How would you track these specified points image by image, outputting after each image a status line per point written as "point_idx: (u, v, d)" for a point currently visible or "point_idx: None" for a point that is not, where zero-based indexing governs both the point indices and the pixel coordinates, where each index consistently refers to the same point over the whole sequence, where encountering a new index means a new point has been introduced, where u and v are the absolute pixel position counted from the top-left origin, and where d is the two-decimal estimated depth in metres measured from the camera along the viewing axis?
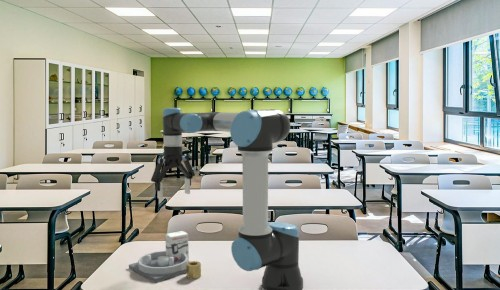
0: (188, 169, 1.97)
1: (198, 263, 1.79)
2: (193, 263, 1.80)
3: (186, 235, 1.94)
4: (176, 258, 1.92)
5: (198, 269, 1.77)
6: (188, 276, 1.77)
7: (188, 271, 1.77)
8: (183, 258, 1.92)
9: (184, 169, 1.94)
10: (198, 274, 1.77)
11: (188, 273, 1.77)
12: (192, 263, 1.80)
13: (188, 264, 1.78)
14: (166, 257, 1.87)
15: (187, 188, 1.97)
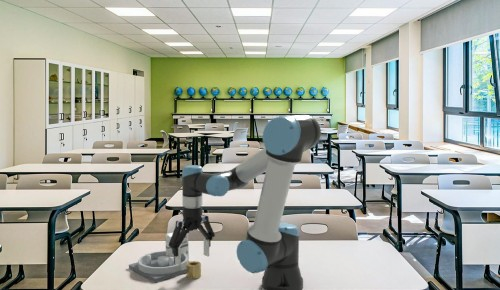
0: (208, 229, 1.83)
1: (198, 263, 1.79)
2: (193, 263, 1.80)
3: (186, 235, 1.94)
4: None
5: (198, 269, 1.77)
6: (188, 276, 1.77)
7: (188, 271, 1.77)
8: (183, 258, 1.92)
9: (204, 230, 1.80)
10: (198, 274, 1.77)
11: (188, 273, 1.77)
12: (192, 263, 1.80)
13: (188, 264, 1.78)
14: (166, 257, 1.87)
15: (206, 250, 1.83)
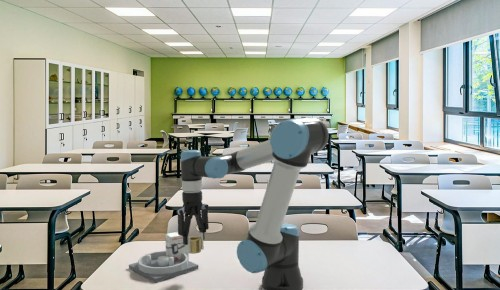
0: (203, 220, 1.80)
1: (198, 238, 1.78)
2: (193, 238, 1.79)
3: None
4: (176, 258, 1.92)
5: (198, 244, 1.76)
6: None
7: None
8: (183, 258, 1.92)
9: (200, 219, 1.78)
10: (198, 249, 1.76)
11: None
12: (192, 238, 1.79)
13: None
14: (166, 257, 1.87)
15: None
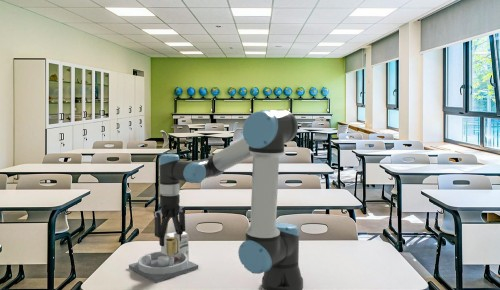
0: (180, 222, 1.85)
1: (174, 239, 1.82)
2: (170, 239, 1.84)
3: (186, 235, 1.94)
4: (176, 258, 1.92)
5: (174, 245, 1.81)
6: None
7: None
8: (183, 258, 1.92)
9: (177, 222, 1.82)
10: (174, 250, 1.81)
11: None
12: (169, 239, 1.84)
13: None
14: (166, 257, 1.87)
15: (177, 244, 1.84)
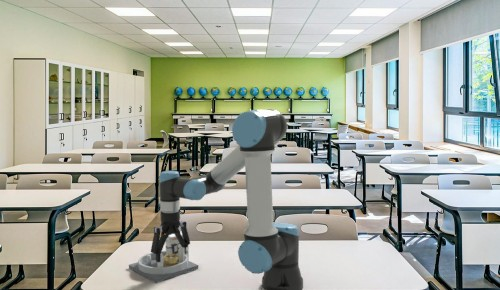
0: (184, 236, 1.86)
1: (175, 256, 1.83)
2: (170, 256, 1.84)
3: None
4: None
5: (175, 261, 1.81)
6: None
7: (165, 264, 1.81)
8: None
9: (180, 236, 1.83)
10: None
11: (165, 265, 1.81)
12: (169, 256, 1.84)
13: (165, 257, 1.82)
14: None
15: (182, 257, 1.85)
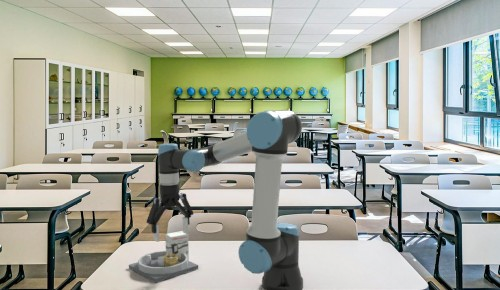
0: (186, 207, 1.86)
1: (175, 256, 1.83)
2: (170, 256, 1.84)
3: (186, 235, 1.94)
4: None
5: (175, 261, 1.81)
6: None
7: (165, 264, 1.81)
8: (183, 258, 1.92)
9: (182, 208, 1.83)
10: None
11: (165, 265, 1.81)
12: (169, 256, 1.84)
13: (165, 257, 1.82)
14: None
15: (185, 228, 1.85)
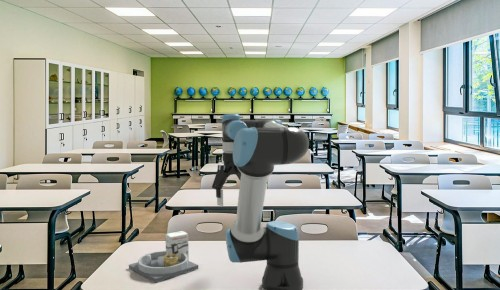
0: None
1: (175, 256, 1.83)
2: (170, 256, 1.84)
3: (186, 235, 1.94)
4: None
5: (175, 261, 1.81)
6: None
7: (165, 264, 1.81)
8: (183, 258, 1.92)
9: None
10: None
11: (165, 265, 1.81)
12: (169, 256, 1.84)
13: (165, 257, 1.82)
14: None
15: None
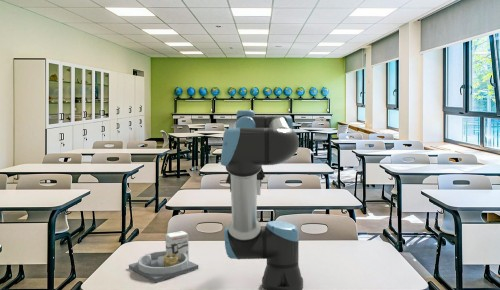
0: None
1: (175, 256, 1.83)
2: (170, 256, 1.84)
3: (186, 235, 1.94)
4: None
5: (175, 261, 1.81)
6: None
7: (165, 264, 1.81)
8: (183, 258, 1.92)
9: None
10: None
11: (165, 265, 1.81)
12: (169, 256, 1.84)
13: (165, 257, 1.82)
14: None
15: (258, 189, 1.99)
